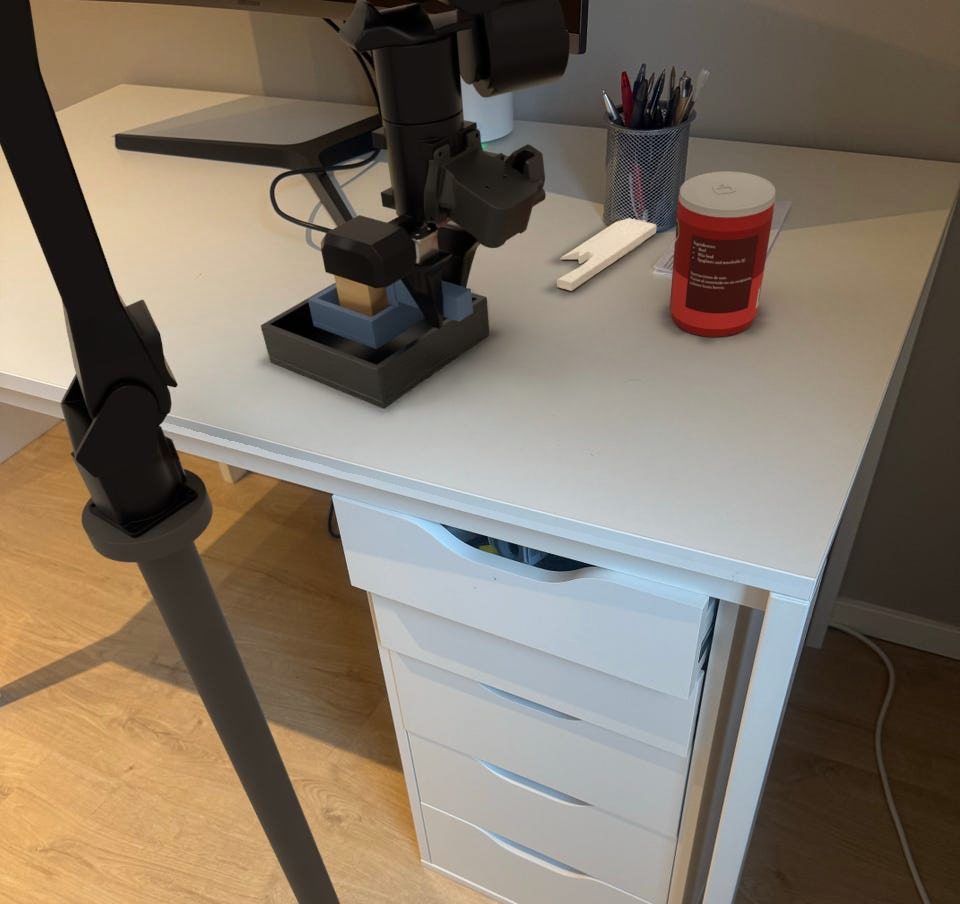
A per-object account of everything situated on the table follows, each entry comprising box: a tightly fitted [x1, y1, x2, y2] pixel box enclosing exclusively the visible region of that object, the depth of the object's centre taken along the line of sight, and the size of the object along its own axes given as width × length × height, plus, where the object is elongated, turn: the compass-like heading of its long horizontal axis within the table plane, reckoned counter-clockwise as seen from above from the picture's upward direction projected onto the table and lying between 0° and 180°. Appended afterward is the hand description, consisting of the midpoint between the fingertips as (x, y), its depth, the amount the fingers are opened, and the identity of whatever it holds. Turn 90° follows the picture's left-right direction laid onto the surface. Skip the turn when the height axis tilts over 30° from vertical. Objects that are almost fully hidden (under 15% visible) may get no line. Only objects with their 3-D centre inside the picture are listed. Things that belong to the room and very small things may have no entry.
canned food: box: [669, 171, 776, 338], centre depth 77 cm, size 8×8×11 cm
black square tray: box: [260, 281, 490, 409], centre depth 80 cm, size 14×14×4 cm
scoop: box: [308, 280, 473, 349], centre depth 76 cm, size 8×15×5 cm, turn 51°
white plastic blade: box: [556, 217, 657, 292], centre depth 91 cm, size 5×15×1 cm, turn 140°
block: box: [333, 275, 391, 317], centre depth 78 cm, size 4×4×4 cm
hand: (445, 321), depth 74 cm, fingers closed on scoop, 2 cm apart
